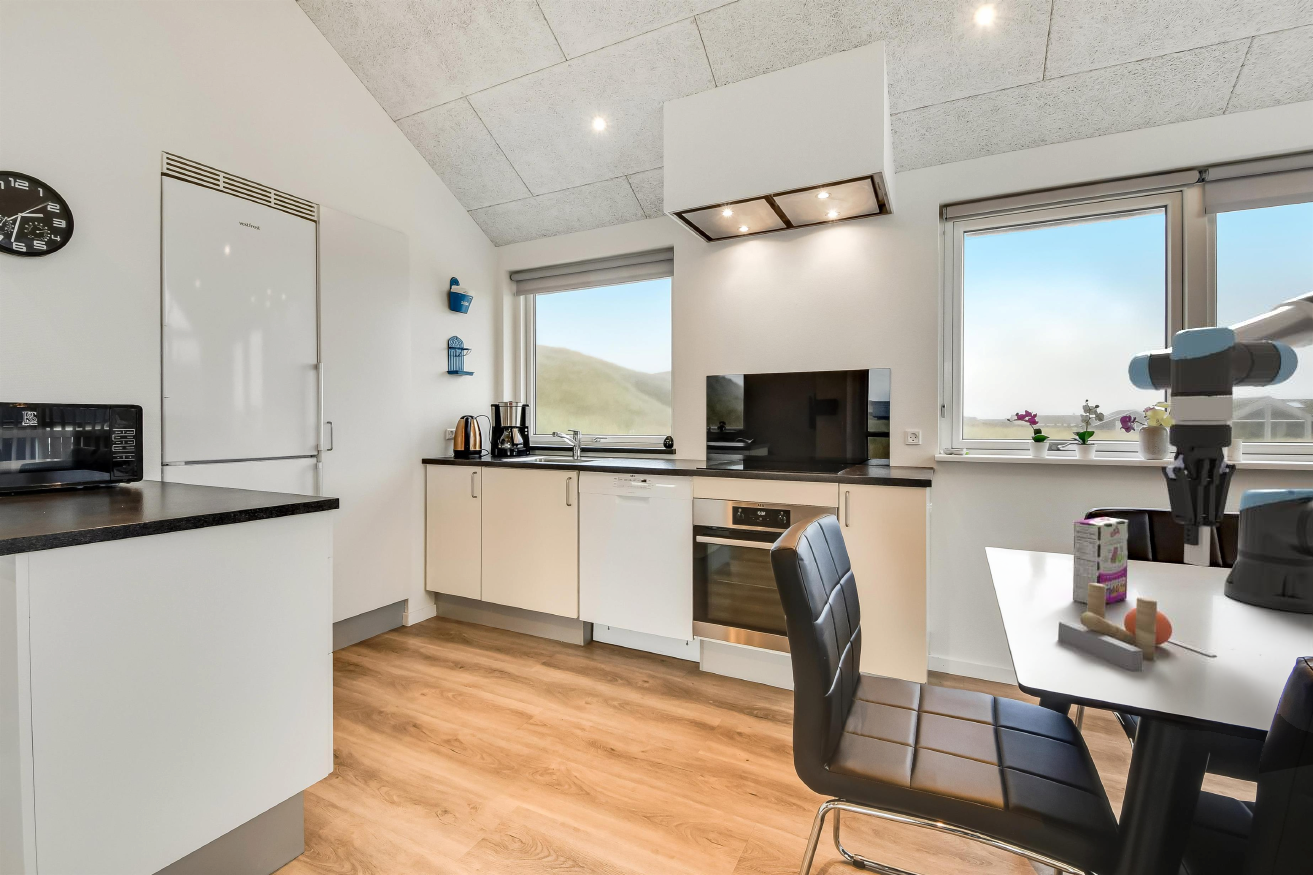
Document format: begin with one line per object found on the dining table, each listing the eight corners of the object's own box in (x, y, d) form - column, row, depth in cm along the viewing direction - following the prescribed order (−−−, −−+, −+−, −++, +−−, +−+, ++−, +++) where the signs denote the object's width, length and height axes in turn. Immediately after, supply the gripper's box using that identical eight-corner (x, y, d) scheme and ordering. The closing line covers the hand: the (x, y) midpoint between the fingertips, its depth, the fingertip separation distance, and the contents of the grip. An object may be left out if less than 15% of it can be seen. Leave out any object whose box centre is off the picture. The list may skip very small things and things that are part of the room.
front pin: (1123, 629, 95) (1083, 610, 93) (1138, 635, 92) (1097, 615, 91) (1117, 643, 95) (1077, 623, 93) (1132, 649, 92) (1092, 629, 90)
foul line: (1137, 628, 102) (1137, 626, 102) (1216, 656, 90) (1216, 654, 90) (1131, 628, 101) (1131, 627, 101) (1210, 656, 90) (1210, 655, 90)
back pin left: (1142, 653, 91) (1144, 597, 90) (1158, 659, 88) (1161, 602, 88) (1130, 654, 90) (1132, 598, 90) (1146, 661, 88) (1148, 603, 87)
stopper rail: (1067, 638, 96) (1068, 621, 96) (1142, 669, 85) (1143, 649, 85) (1058, 639, 96) (1058, 621, 96) (1131, 671, 84) (1132, 650, 84)
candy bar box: (1099, 592, 122) (1102, 516, 121) (1127, 599, 117) (1130, 520, 117) (1070, 600, 117) (1073, 520, 116) (1098, 607, 112) (1101, 524, 112)
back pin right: (1093, 634, 98) (1095, 582, 98) (1107, 639, 96) (1109, 586, 96) (1082, 635, 98) (1084, 583, 98) (1095, 640, 96) (1098, 587, 95)
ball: (1108, 619, 96) (1126, 644, 97) (1146, 632, 90) (1164, 659, 91) (1131, 594, 97) (1148, 619, 98) (1170, 606, 91) (1187, 633, 92)
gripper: (1204, 421, 100) (1200, 555, 101) (1145, 423, 97) (1142, 561, 98) (1257, 422, 93) (1253, 566, 94) (1195, 424, 90) (1191, 573, 91)
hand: (1196, 563), depth 96 cm, fingers closed
